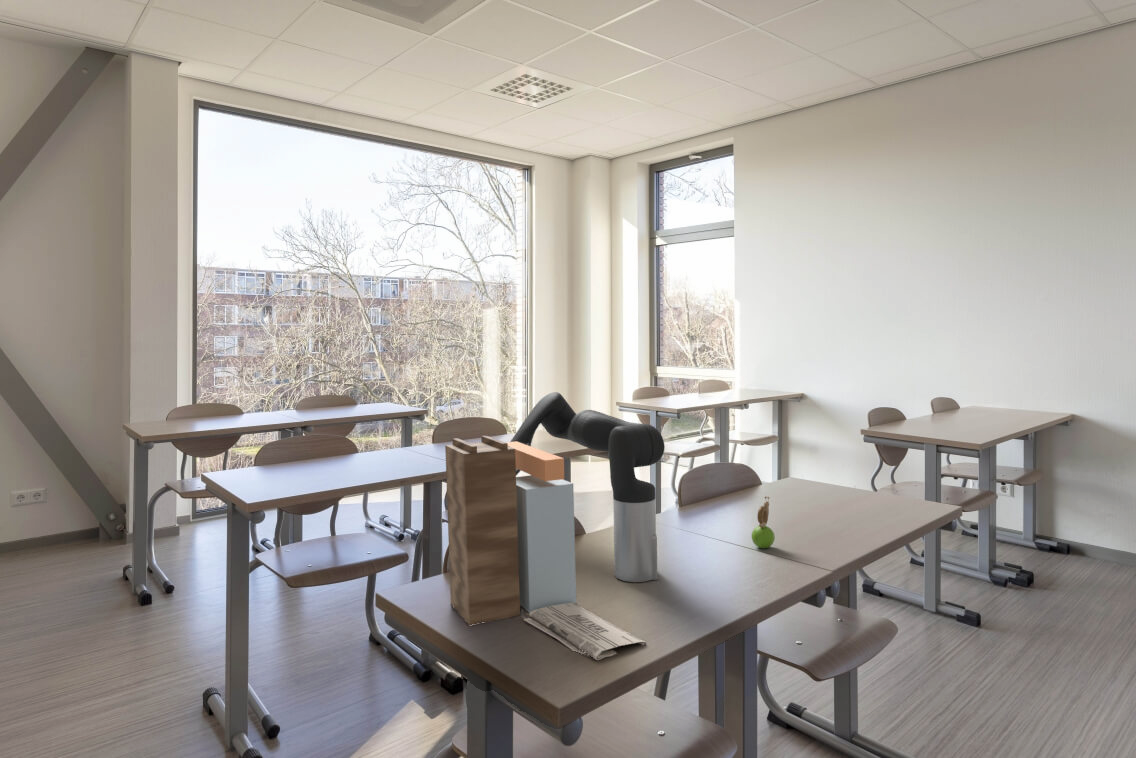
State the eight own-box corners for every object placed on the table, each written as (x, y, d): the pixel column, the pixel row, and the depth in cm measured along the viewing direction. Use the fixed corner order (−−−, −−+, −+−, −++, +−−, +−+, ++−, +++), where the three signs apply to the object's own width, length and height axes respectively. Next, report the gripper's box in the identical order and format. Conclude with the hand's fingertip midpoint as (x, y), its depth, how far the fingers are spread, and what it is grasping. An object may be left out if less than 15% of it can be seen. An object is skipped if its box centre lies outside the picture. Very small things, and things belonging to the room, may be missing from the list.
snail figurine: (778, 545, 170) (778, 497, 169) (771, 552, 165) (770, 503, 164) (756, 542, 173) (756, 495, 172) (748, 549, 168) (748, 500, 167)
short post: (507, 592, 143) (503, 478, 141) (550, 584, 147) (547, 473, 146) (529, 613, 132) (526, 489, 130) (576, 603, 136) (573, 483, 135)
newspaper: (520, 623, 129) (521, 610, 129) (574, 614, 136) (575, 601, 136) (590, 670, 110) (591, 654, 110) (649, 656, 117) (650, 641, 117)
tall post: (450, 604, 137) (445, 439, 135) (497, 594, 142) (492, 434, 140) (469, 626, 127) (463, 447, 125) (520, 615, 131) (515, 442, 129)
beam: (500, 461, 151) (499, 443, 151) (517, 459, 153) (516, 441, 153) (545, 481, 130) (544, 460, 129) (564, 479, 131) (563, 458, 131)
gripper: (463, 464, 158) (483, 435, 145) (520, 458, 165) (545, 429, 151) (469, 495, 156) (490, 468, 142) (527, 487, 162) (553, 461, 148)
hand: (518, 448), depth 146 cm, fingers closed on beam, 4 cm apart
